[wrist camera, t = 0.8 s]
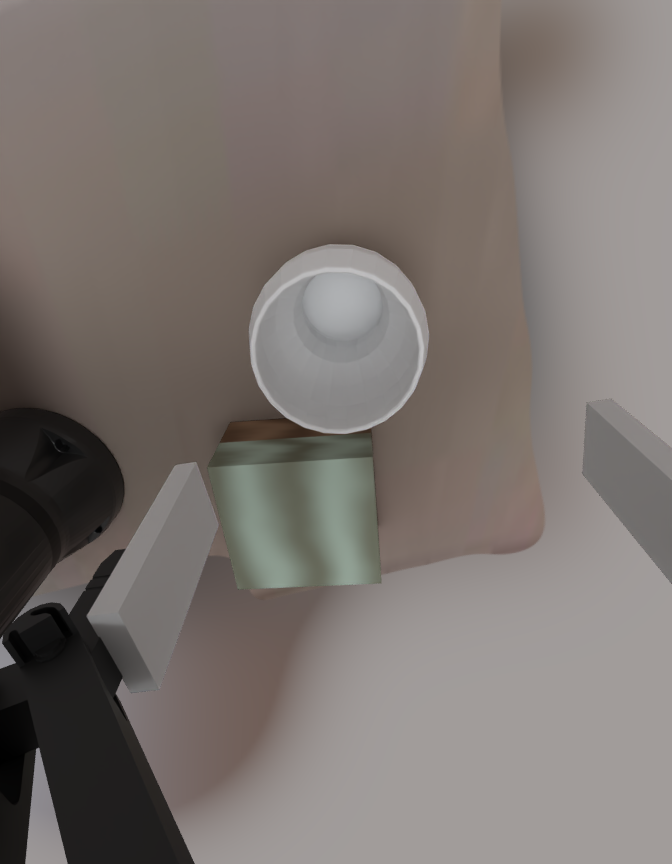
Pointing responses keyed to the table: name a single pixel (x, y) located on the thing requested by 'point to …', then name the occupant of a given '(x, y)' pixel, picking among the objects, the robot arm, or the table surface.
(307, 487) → the tower base
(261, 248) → the table surface
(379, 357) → the cup
